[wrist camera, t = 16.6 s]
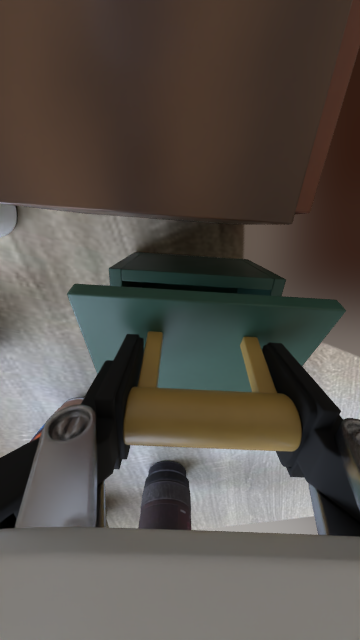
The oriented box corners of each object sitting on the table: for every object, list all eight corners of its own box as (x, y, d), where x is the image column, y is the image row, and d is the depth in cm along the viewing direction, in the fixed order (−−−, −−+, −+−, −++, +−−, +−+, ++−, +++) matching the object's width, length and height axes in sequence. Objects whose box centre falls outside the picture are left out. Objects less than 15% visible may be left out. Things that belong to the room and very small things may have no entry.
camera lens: (199, 472, 37) (210, 616, 23) (167, 488, 39) (160, 628, 26) (168, 451, 34) (161, 600, 21) (136, 470, 37) (110, 615, 23)
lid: (73, 282, 9) (-21, 407, 5) (336, 299, 9) (457, 428, 5) (121, 423, 19) (104, 499, 15) (243, 428, 19) (258, 504, 15)
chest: (134, 251, 20) (108, 268, 13) (248, 259, 21) (286, 279, 13) (138, 367, 27) (121, 423, 19) (225, 372, 27) (242, 429, 19)
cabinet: (268, 33, 14) (452, -362, 5) (236, 224, 19) (292, 224, 10) (64, 14, 14) (-197, -461, 4) (88, 213, 19) (-6, 203, 9)
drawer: (306, 39, 14) (481, -218, 6) (266, 218, 18) (333, 214, 10) (94, 19, 13) (-32, -287, 5) (109, 207, 18) (52, 194, 10)
